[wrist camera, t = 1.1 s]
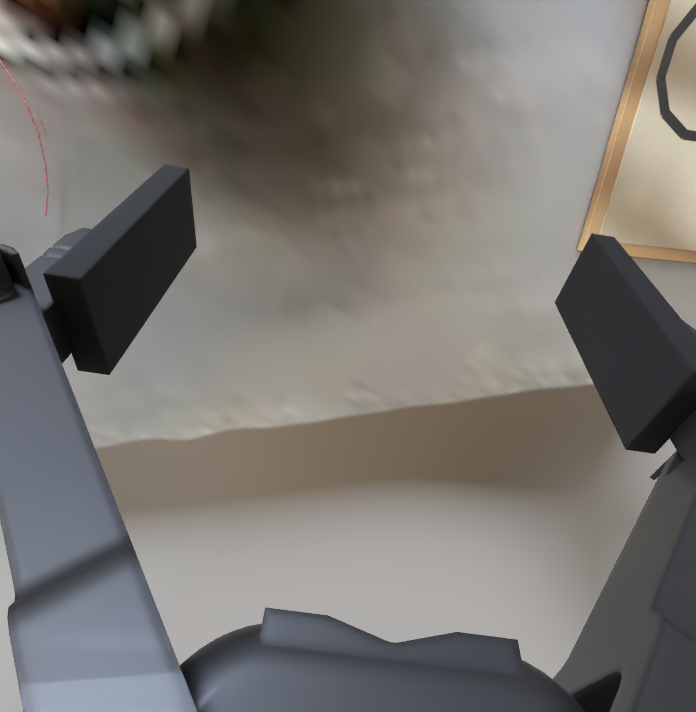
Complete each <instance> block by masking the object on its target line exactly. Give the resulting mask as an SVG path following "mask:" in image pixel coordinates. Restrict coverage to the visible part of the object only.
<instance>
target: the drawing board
mask: <svg viewBox="0 0 696 712" xmlns="http://www.w3.org/2000/svg"><path fill="white" fill-rule="evenodd" d="M591 233H593V234H599V235H605V236H611V237H615V238H616V240H617V241H618V242H619V243H620V245H621V246H622V247H623V248H624V249H625V251H626V252H627V253H628V254H629V256H630V257H640V258H650V259H659V260H669V261H679V262H689V263H696V0H649V3H648V7H647V10H646V14H645V17H644V21H643V24H642V28H641V31H640V34H639V38H638V41H637V45H636V48H635V52H634V55H633V59H632V62H631V66H630V69H629V72H628V76H627V79H626V83H625V86H624V90H623V93H622V97H621V100H620V104H619V107H618V111H617V114H616V117H615V121H614V124H613V128H612V131H611V135H610V138H609V142H608V145H607V149H606V152H605V156H604V159H603V162H602V166H601V169H600V173H599V176H598V180H597V183H596V187H595V190H594V194H593V197H592V201H591V204H590V207H589V211H588V214H587V218H586V221H585V225H584V228H583V232H582V235H581V239H580V242H579V245H578V249H577V250H578V251H582V250H583V249H584V247H585V245H586V243H587V241H588V239H589V237H590V235H591Z"/></svg>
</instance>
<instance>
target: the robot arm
mask: <svg viewBox="0 0 696 712" xmlns="http://www.w3.org/2000/svg"><path fill="white" fill-rule="evenodd" d="M196 247H197V246H196V236H195V226H194V216H193V205H192V195H191V185H190V174H189V168H184V167H178V166H171V165H165V164H164V165H163V166H162V167H161V168H160V169H159V170H158V171H157V172H156V173H154V174H153V175H152V176H151V177H150V178H149V179H148V180H147V181H146V182H144V183H143V184H142V185H141V186H140V187H139V188H138V189H137V190H135V191H134V192H133V193H132V194H131V195H130V196H129V197H128V198H127V199H125V200H124V201H123V202H122V203H121V204H120V205H119V206H118V207H117V208H115V209H114V210H113V211H112V212H111V213H110V214H109V215H108V216H106V217H105V218H104V219H103V220H102V221H101V222H100V223H99V224H98V225H96V226H95V227H94V228H93V229H86V228H82V229H79V230H77V231H75V232H72V233H70V234H67V235H65V236H64V237H63V238H61V239H60V240H59V241H58V242H57V243H55V244H54V245H53V248H49V249H48V250H47V251H46V252H45V253H43V254H44V255H43V256H40V257H39V258H38V259H36V260H35V261H34V262H33V263H32V264H30V265H29V266H28V267H27V268H26V269H25V268H24V266H23V263H22V261H21V258H20V256H19V253H18V252H17V251H16V250H15V249H14V248H12V247H9V246H6V245H2V244H0V520H1V524H2V529H3V534H4V540H5V545H6V550H7V555H8V559H9V564H10V569H11V574H12V579H13V584H14V590H15V602H14V603H13V604H12V605H10V606H9V609H8V626H9V635H10V640H11V646H12V651H13V657H14V662H15V667H16V673H17V678H18V684H19V689H20V695H21V700H22V706H23V711H24V712H696V330H695V329H694V328H692V327H691V326H690V325H688V324H687V323H686V322H684V321H683V320H682V319H681V318H680V317H679V316H678V315H677V313H676V312H675V311H674V310H673V308H672V307H671V306H670V305H669V304H668V302H667V301H666V300H665V299H664V297H663V296H662V295H661V294H660V292H659V291H658V290H657V289H656V288H655V286H654V285H653V284H652V283H651V281H650V280H649V279H648V278H647V276H646V275H645V274H644V273H643V272H642V270H641V269H640V268H639V267H638V265H637V264H636V263H635V262H634V261H633V259H632V258H631V257H630V256H629V254H628V253H627V252H626V251H625V249H624V248H623V247H622V246H621V245H620V243H619V242H618V241H617V240H616V238H615V237H611V236H605V235H599V234H593V233H591V235H590V237H589V239H588V241H587V243H586V245H585V247H584V249H583V250H582V252H581V254H580V256H579V258H578V260H577V262H576V264H575V265H574V267H573V269H572V271H571V273H570V275H569V277H568V279H567V280H566V282H565V284H564V286H563V288H562V290H561V292H560V294H559V296H558V297H557V299H556V301H555V304H556V306H557V308H558V310H559V312H560V314H561V316H562V318H563V320H564V323H565V325H566V327H567V329H568V331H569V333H570V335H571V337H572V339H573V341H574V343H575V345H576V347H577V349H578V352H579V354H580V356H581V358H582V360H583V362H584V364H585V366H586V368H587V370H588V372H589V374H590V376H591V378H592V381H593V383H594V385H595V387H596V389H597V391H598V393H599V395H600V397H601V399H602V401H603V403H604V405H605V407H606V410H607V412H608V414H609V416H610V418H611V420H612V422H613V424H614V426H615V428H616V430H617V432H618V434H619V436H620V438H621V440H622V442H623V445H624V447H625V449H626V450H633V451H640V452H647V453H656V452H657V451H658V450H659V449H660V447H662V445H663V444H664V443H665V442H666V441H667V440H668V439H669V438H670V439H671V441H672V443H673V444H674V446H675V448H676V449H677V451H676V452H675V453H674V454H673V455H672V456H671V457H670V458H669V459H668V460H667V461H666V462H665V463H664V464H663V465H662V466H661V467H660V468H659V469H658V470H657V471H656V472H655V473H654V474H653V475H652V476H651V477H650V478H652V479H653V480H655V479H656V478H657V477H659V478H658V480H657V482H656V484H655V486H654V488H653V490H652V492H651V494H650V496H649V498H648V500H647V502H646V504H645V506H644V508H643V510H642V512H641V514H640V516H639V518H638V520H637V522H636V524H635V526H634V528H633V530H632V532H631V534H630V536H629V538H628V540H627V542H626V544H625V546H624V548H623V550H622V552H621V554H620V556H619V558H618V560H617V562H616V564H615V566H614V568H613V570H612V572H611V574H610V576H609V578H608V580H607V582H606V584H605V586H604V588H603V590H602V592H601V594H600V596H599V598H598V600H597V602H596V604H595V606H594V608H593V610H592V612H591V614H590V616H589V618H588V620H587V622H586V624H585V626H584V628H583V630H582V632H581V634H580V636H579V638H578V640H577V642H576V644H575V646H574V648H573V650H572V652H571V654H570V656H569V658H568V660H567V661H566V663H565V665H564V666H563V667H562V669H561V670H560V671H559V672H558V673H557V675H556V676H555V677H554V678H553V679H551V678H550V677H549V676H547V675H546V674H545V673H543V672H542V671H541V670H539V669H537V668H535V667H534V666H532V665H530V664H529V663H527V662H525V661H523V660H521V656H520V650H519V645H518V640H514V639H507V638H499V637H491V636H483V635H476V634H468V633H460V632H454V633H449V634H444V635H438V636H432V637H427V638H421V639H416V640H410V641H405V642H399V643H391V642H388V641H385V640H383V639H380V638H378V637H376V636H374V635H371V634H369V633H367V632H365V631H362V630H360V629H358V628H355V627H353V626H351V625H348V624H346V623H344V622H342V621H339V620H337V619H335V618H332V617H330V616H327V615H319V614H311V613H303V612H296V611H288V610H280V609H273V608H265V612H264V617H263V622H262V624H258V625H252V626H247V627H244V628H241V629H238V630H235V631H232V632H230V633H228V634H226V635H223V636H221V637H219V638H217V639H215V640H214V641H212V642H210V643H209V644H207V645H206V646H204V647H202V648H201V649H199V650H198V651H197V652H196V653H194V654H193V655H192V656H191V657H190V658H188V659H187V660H186V661H184V662H183V663H182V664H181V665H180V666H179V663H178V661H177V658H176V656H175V653H174V650H173V648H172V645H171V643H170V640H169V638H168V635H167V632H166V630H165V627H164V625H163V622H162V620H161V617H160V615H159V612H158V610H157V607H156V604H155V602H154V599H153V597H152V594H151V591H150V589H149V586H148V584H147V581H146V579H145V576H144V573H143V571H142V569H141V566H140V563H139V561H138V558H137V556H136V553H135V551H134V548H133V545H132V543H131V540H130V538H129V535H128V533H127V530H126V527H125V525H124V522H123V520H122V517H121V515H120V512H119V509H118V507H117V504H116V502H115V499H114V497H113V494H112V491H111V489H110V486H109V484H108V481H107V479H106V476H105V473H104V471H103V468H102V466H101V463H100V461H99V458H98V456H97V453H96V450H95V448H94V445H93V443H92V440H91V438H90V435H89V432H88V430H87V427H86V425H85V422H84V420H83V417H82V414H81V412H80V409H79V407H78V404H77V402H76V399H75V396H74V394H73V391H72V389H71V386H70V384H69V381H68V379H67V376H66V373H65V371H64V368H63V366H62V363H63V362H64V361H65V360H66V359H67V357H68V356H69V355H70V354H71V353H72V356H73V358H74V361H75V364H76V367H77V369H78V370H79V371H86V372H92V373H99V374H106V375H110V373H111V372H112V370H113V369H114V367H115V366H116V364H117V363H118V362H119V360H120V359H121V357H122V356H123V354H124V353H125V351H126V350H127V348H128V347H129V345H130V344H131V342H132V341H133V339H134V338H135V337H136V335H137V334H138V332H139V331H140V329H141V328H142V326H143V325H144V323H145V322H146V320H147V319H148V317H149V316H150V314H151V313H152V312H153V310H154V309H155V307H156V306H157V304H158V303H159V301H160V300H161V298H162V297H163V295H164V294H165V292H166V291H167V290H168V288H169V287H170V285H171V284H172V282H173V281H174V279H175V278H176V276H177V275H178V273H179V272H180V270H181V269H182V267H183V266H184V265H185V263H186V262H187V260H188V259H189V257H190V256H191V254H192V253H193V251H194V250H195V248H196Z"/></svg>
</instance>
